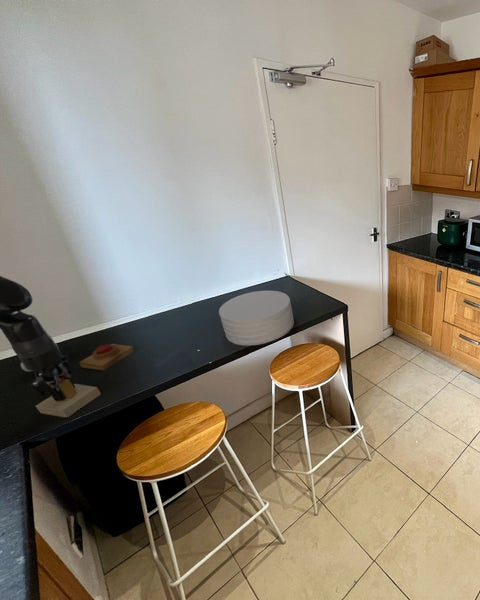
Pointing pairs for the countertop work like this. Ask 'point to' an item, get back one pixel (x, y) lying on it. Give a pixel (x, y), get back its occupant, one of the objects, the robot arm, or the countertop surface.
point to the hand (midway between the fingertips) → (66, 394)
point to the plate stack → (257, 317)
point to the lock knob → (66, 388)
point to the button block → (107, 357)
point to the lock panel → (69, 402)
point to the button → (104, 349)
